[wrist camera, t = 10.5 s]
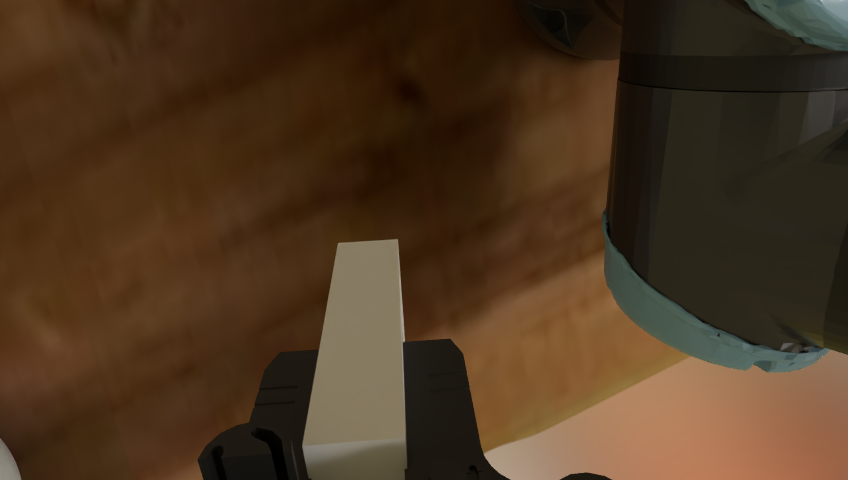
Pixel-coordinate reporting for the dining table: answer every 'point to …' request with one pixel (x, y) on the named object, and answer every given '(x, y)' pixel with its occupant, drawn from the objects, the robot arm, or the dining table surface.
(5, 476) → the serving bowl
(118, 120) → the dining table surface
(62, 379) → the dining table surface
